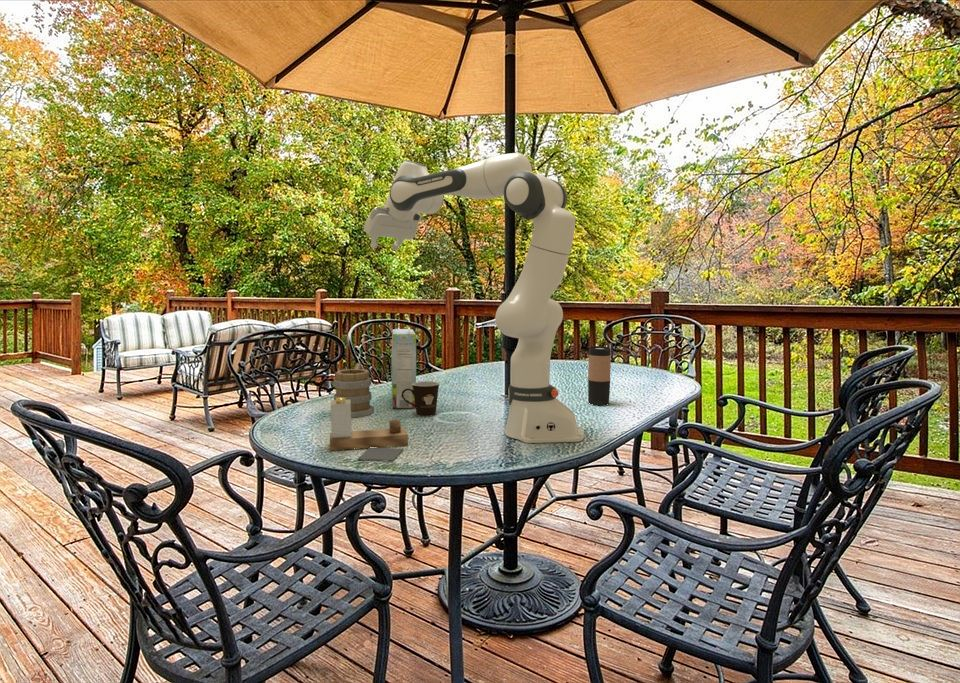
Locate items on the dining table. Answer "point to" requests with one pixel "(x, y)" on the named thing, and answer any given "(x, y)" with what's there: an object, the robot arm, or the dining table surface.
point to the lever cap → (341, 418)
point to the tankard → (355, 390)
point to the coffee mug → (424, 397)
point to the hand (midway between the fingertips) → (383, 248)
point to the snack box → (403, 367)
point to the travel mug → (599, 375)
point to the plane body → (372, 438)
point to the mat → (381, 454)
